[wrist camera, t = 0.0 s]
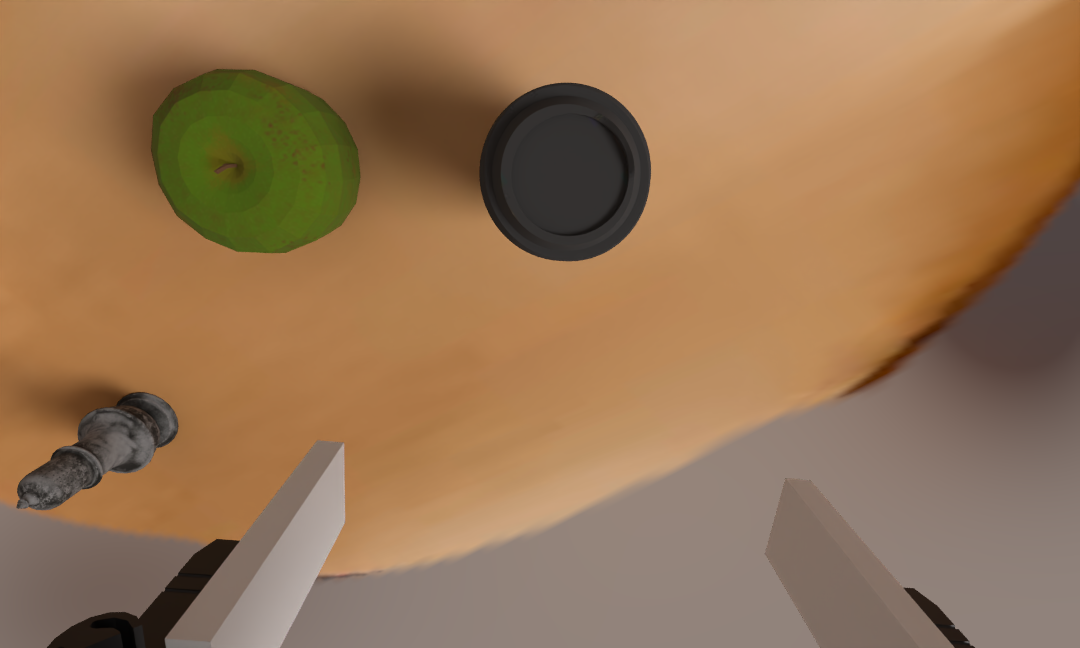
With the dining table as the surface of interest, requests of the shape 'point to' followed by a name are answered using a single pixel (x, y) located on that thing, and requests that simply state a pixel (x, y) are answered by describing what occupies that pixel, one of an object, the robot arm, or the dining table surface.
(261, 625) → the robot arm
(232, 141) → the apple
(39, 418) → the dining table surface
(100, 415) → the grey chess piece
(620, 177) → the coffee cup
